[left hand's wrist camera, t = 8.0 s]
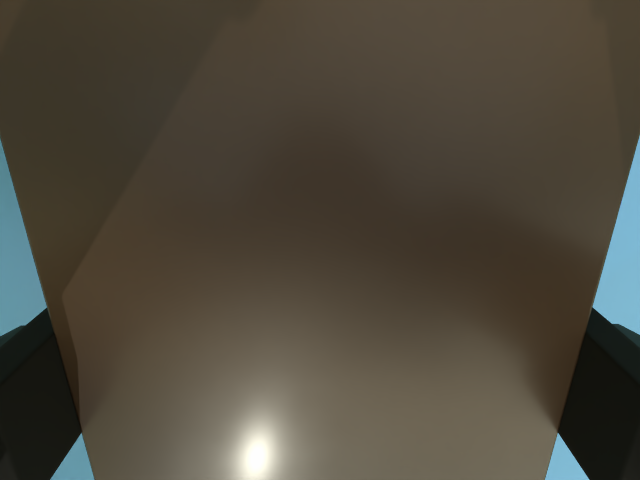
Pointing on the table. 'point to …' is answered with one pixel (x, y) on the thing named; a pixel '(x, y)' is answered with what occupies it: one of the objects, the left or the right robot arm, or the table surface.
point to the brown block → (319, 225)
